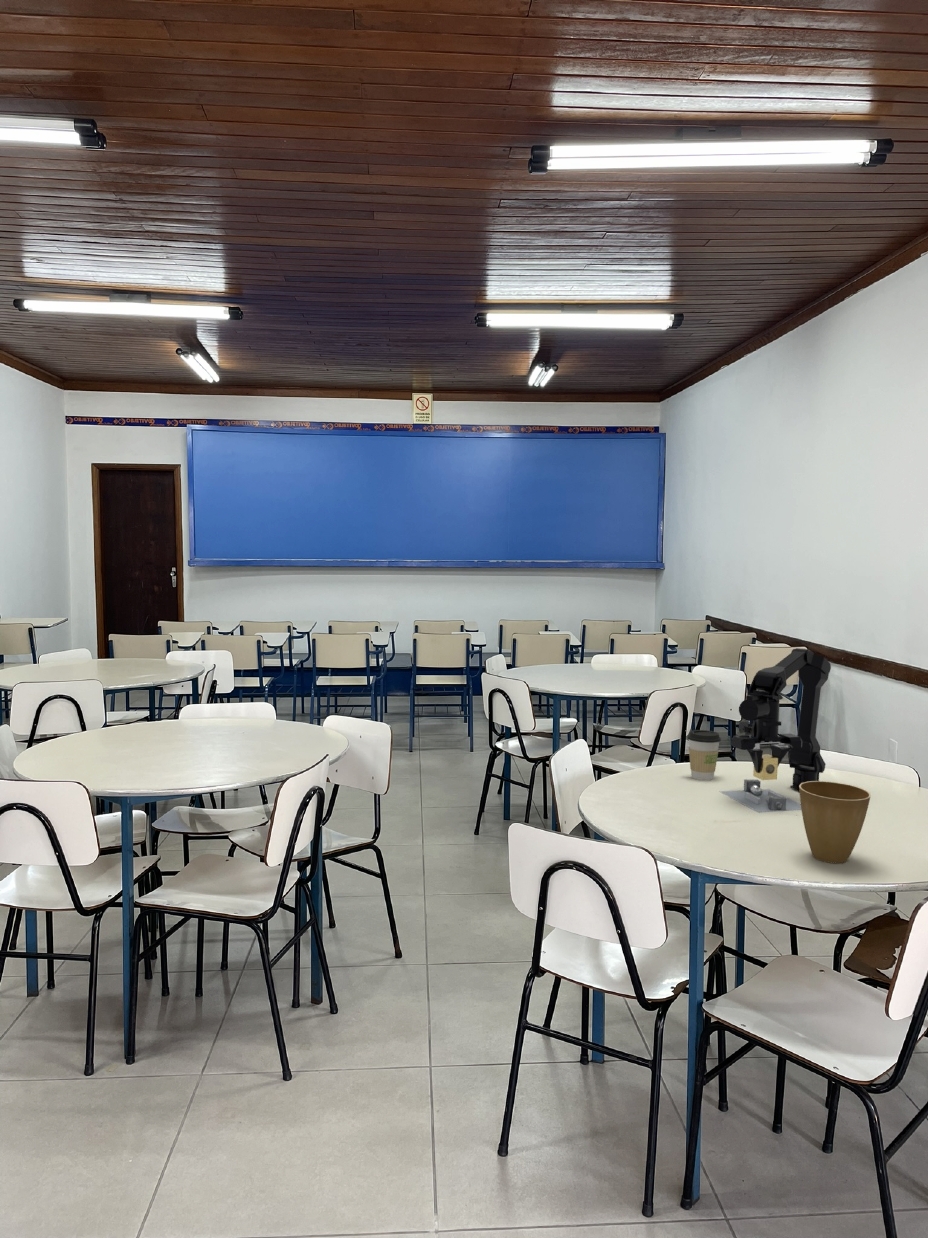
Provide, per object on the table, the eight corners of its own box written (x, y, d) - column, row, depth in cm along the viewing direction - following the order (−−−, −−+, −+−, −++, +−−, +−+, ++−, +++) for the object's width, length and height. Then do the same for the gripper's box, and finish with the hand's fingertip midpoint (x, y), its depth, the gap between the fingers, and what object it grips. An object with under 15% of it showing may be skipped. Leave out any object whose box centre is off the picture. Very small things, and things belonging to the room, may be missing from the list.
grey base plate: (768, 793, 247) (769, 783, 246) (811, 813, 227) (812, 803, 227) (719, 795, 243) (719, 786, 243) (758, 816, 224) (758, 806, 223)
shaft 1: (765, 796, 239) (765, 784, 239) (751, 796, 239) (751, 784, 239) (757, 790, 245) (757, 779, 244) (743, 790, 244) (744, 779, 244)
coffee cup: (723, 786, 253) (725, 736, 252) (690, 785, 253) (692, 736, 252) (714, 777, 263) (716, 730, 262) (682, 776, 263) (684, 729, 262)
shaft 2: (762, 804, 231) (763, 792, 231) (777, 804, 231) (777, 792, 231) (771, 810, 225) (771, 798, 225) (785, 810, 226) (786, 798, 225)
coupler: (777, 779, 233) (778, 758, 232) (762, 780, 232) (763, 758, 231) (767, 775, 237) (768, 754, 237) (752, 775, 236) (753, 754, 236)
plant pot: (794, 863, 189) (797, 793, 188) (797, 843, 203) (800, 778, 202) (868, 874, 183) (871, 802, 182) (865, 853, 197) (869, 785, 196)
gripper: (780, 710, 243) (778, 763, 244) (721, 712, 239) (719, 766, 240) (804, 717, 232) (802, 773, 234) (743, 719, 228) (741, 776, 229)
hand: (765, 772), depth 234 cm, fingers closed on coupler, 4 cm apart
